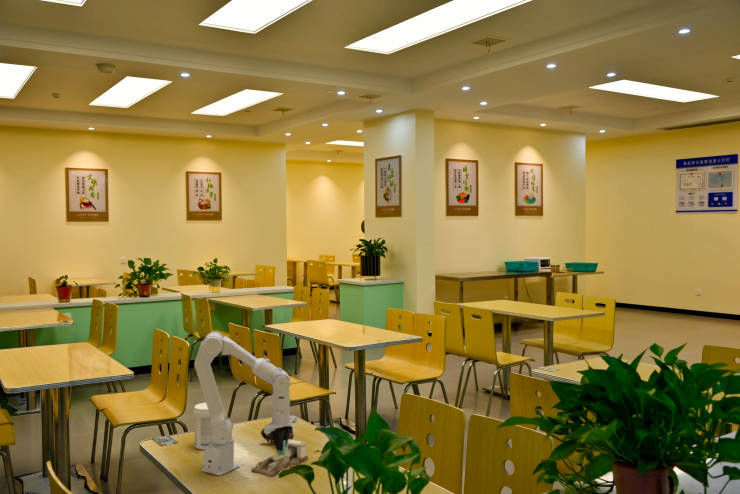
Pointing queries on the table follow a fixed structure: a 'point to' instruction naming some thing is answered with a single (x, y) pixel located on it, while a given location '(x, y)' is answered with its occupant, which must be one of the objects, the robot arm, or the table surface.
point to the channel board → (276, 465)
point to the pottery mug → (270, 438)
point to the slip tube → (284, 453)
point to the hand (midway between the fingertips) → (280, 449)
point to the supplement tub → (202, 426)
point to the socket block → (298, 447)
